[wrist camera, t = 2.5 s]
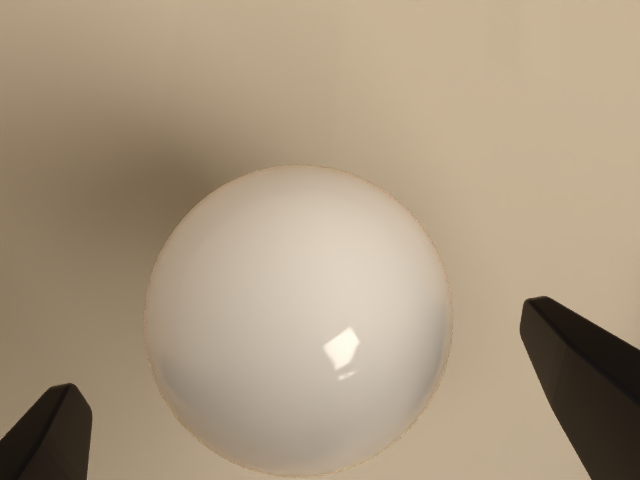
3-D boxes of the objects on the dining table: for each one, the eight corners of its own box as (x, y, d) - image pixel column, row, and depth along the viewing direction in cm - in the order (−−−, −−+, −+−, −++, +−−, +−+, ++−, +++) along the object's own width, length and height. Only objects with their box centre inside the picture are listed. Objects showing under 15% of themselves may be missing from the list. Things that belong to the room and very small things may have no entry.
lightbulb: (257, 213, 19) (175, 63, 8) (414, 265, 19) (546, 183, 8) (197, 373, 18) (13, 447, 7) (362, 432, 18) (433, 603, 7)
